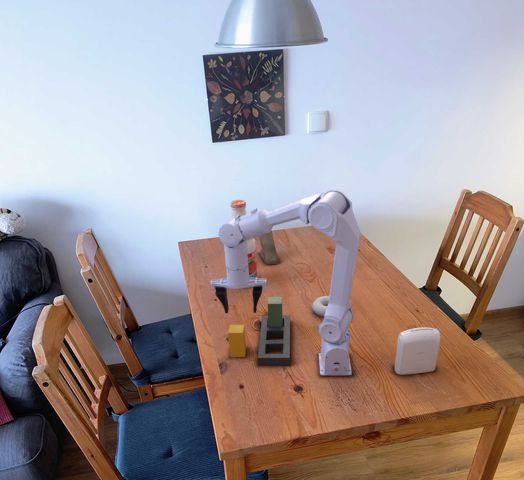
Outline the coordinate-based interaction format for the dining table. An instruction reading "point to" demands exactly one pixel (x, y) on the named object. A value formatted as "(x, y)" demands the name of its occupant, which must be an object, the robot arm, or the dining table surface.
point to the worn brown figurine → (268, 249)
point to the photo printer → (417, 350)
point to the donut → (321, 305)
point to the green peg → (275, 312)
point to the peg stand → (274, 343)
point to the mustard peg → (237, 340)
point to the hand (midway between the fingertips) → (241, 311)
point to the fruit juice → (239, 209)
